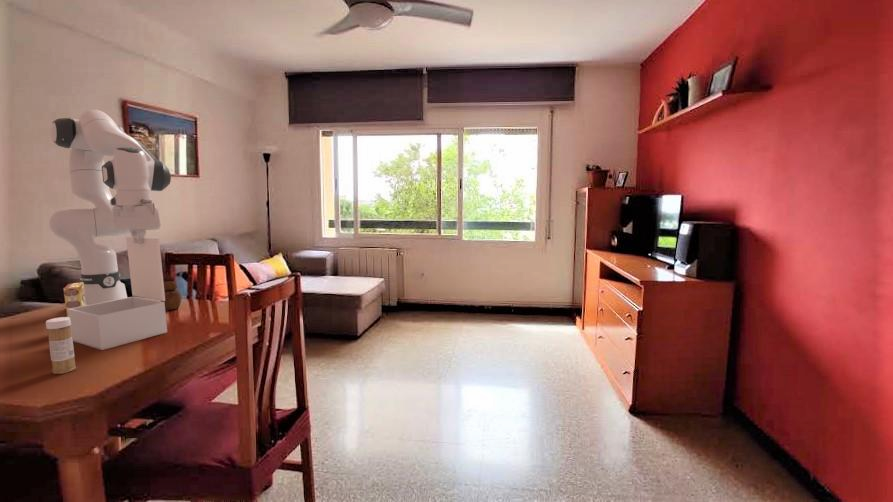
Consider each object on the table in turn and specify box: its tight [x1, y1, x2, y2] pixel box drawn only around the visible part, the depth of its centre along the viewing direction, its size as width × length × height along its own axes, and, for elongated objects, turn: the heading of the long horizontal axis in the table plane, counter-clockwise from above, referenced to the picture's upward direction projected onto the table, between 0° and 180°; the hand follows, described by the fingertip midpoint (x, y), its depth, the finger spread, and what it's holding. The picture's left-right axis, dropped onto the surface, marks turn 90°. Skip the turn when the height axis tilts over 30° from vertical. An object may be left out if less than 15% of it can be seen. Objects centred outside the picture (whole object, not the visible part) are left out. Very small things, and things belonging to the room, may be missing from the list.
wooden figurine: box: [161, 270, 182, 311], centre depth 168 cm, size 7×6×15 cm
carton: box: [68, 296, 168, 351], centre depth 135 cm, size 18×18×10 cm
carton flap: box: [125, 235, 165, 301], centre depth 141 cm, size 18×20×1 cm
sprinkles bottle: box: [45, 316, 77, 375], centre depth 108 cm, size 5×5×13 cm
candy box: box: [62, 282, 86, 317], centre depth 141 cm, size 9×4×15 cm, turn 33°
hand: (139, 243), depth 139 cm, fingers closed, pressing on carton flap
